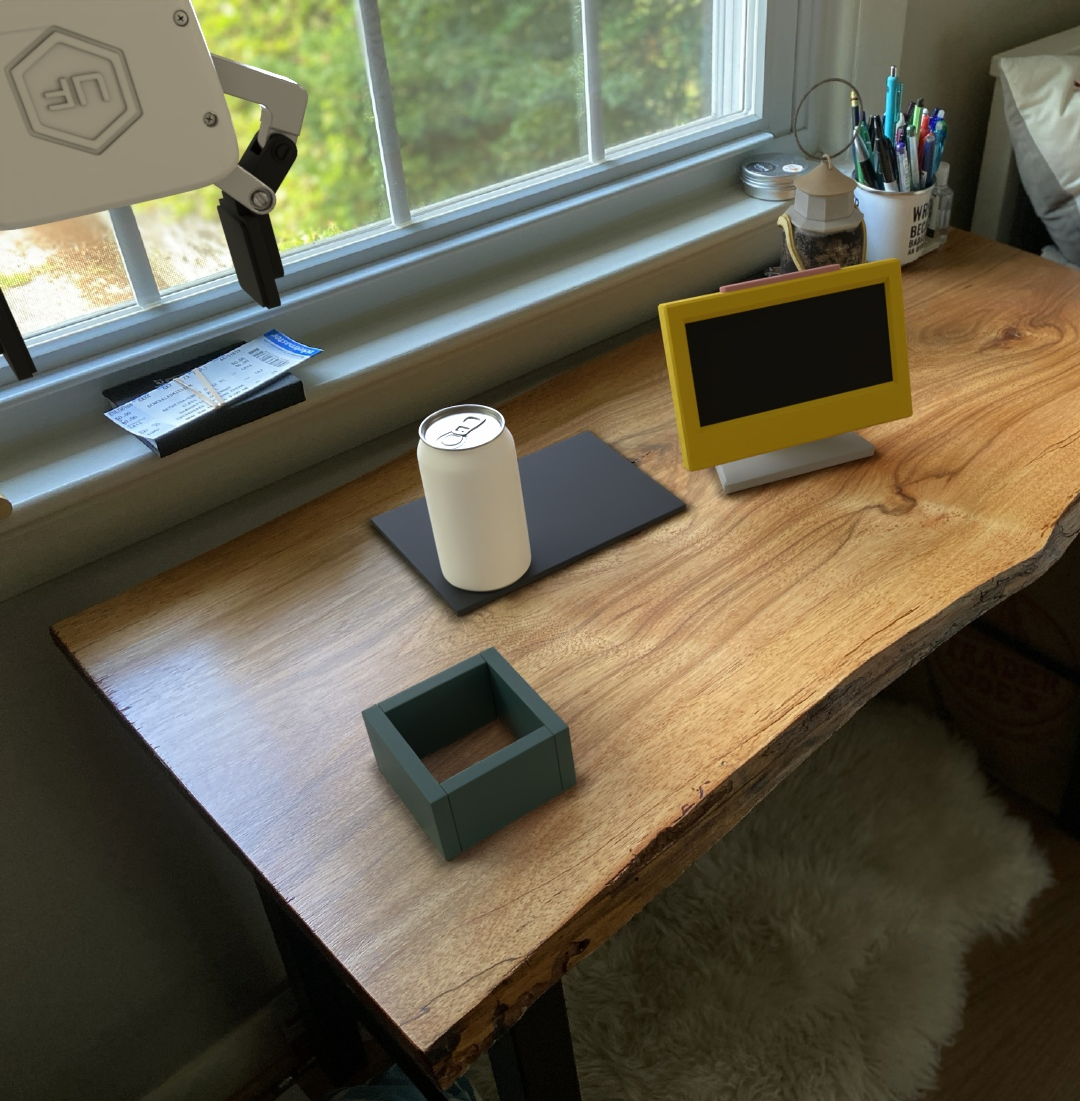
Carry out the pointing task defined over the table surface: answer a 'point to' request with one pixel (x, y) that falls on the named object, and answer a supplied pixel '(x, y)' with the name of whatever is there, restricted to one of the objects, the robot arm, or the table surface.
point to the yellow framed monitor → (787, 370)
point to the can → (474, 497)
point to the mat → (547, 514)
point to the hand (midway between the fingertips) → (147, 330)
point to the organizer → (491, 784)
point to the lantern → (823, 214)
